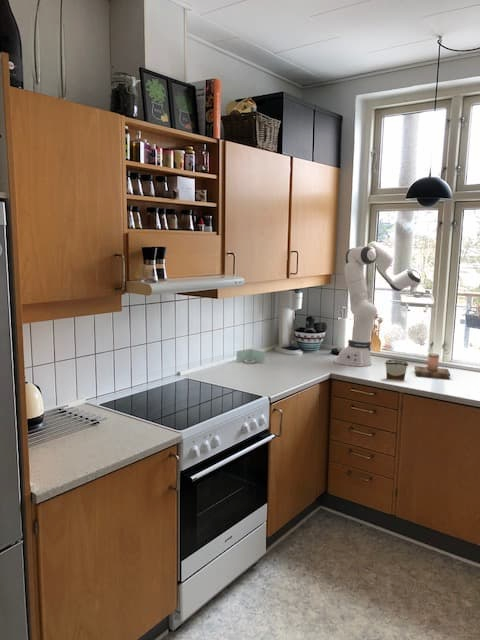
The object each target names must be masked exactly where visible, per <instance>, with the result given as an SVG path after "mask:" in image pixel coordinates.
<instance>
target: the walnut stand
mask: <svg viewBox="0 0 480 640" xmlns="http://www.w3.org/2000/svg"><path fill="white" fill-rule="evenodd" d="M414 370H415V371H414V372H415V374H416V377H423V378H433V379H441V380H442V379H443V380H444V379H445V380H449V379H450V377H451V373H450V371H449V369H448V368H440V367H438V370H437V371H429V370H427V366H418V365H415V366H414Z"/></svg>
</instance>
